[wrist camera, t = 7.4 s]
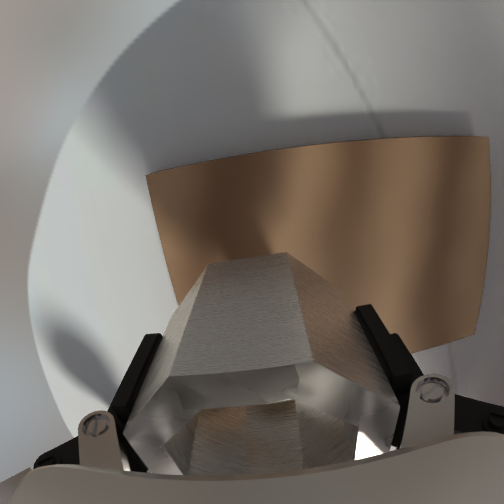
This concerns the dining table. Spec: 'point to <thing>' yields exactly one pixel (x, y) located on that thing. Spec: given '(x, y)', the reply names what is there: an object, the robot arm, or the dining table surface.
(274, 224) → the keeper base
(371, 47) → the dining table surface
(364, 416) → the white hollow octagonal cylinder
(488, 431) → the robot arm
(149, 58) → the dining table surface
